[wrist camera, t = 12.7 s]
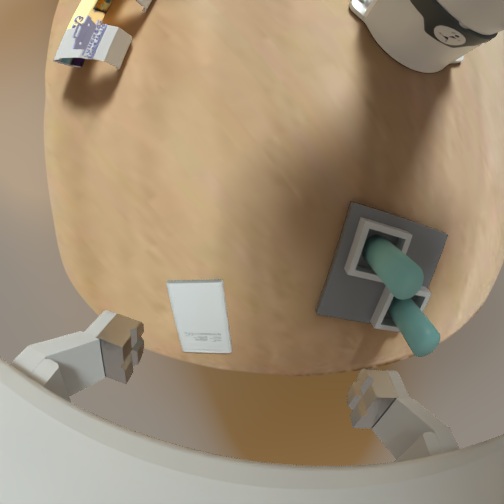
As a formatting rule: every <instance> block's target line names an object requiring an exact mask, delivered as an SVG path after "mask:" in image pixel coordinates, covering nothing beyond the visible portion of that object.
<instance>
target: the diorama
mask: <svg viewBox="0 0 504 504" xmlns="http://www.w3.org/2000/svg"><path fill="white" fill-rule="evenodd" d="M112 1H113V0H82V1H81V3H80V4H79V6H78V8H77V10H76V12H75V14H74V16H73V18H72V20H71V22H70V24H69V26H68V28H67V30H66V32H65V34H64V36H63V39H62V41H61V43H60V46H59V48H58V50H57V53H56V55H55V58H54V62H58V63H61V64H64V65H68V66H72V67H78V68H81V67H82V65H83V62H84V60H85V59H95V60H101V61H105V62H107V63H109V64H111V65H113V66H115V67H116V68H117V70H120V67H121V65H122V62H123V60H124V57H125V55H126V52H127V50H128V48H129V45H130V43H131V41H132V40H131V39H132V36H131V35H129V34H128V33H126V32H125V31H124V30H122V29H121V28H119V27H115V26H111V25H107V24H106V25H105V24H103V25H102V23H103V22H102V20H103V18H104V16H105V15H104V14H106V12H107V10H108V8H109V6H110V4H111V3H112ZM136 1H137V2H138V3H139V4H140V5H141V6H143V7H144V9H143V10H142V11H143V12H144V13H145V12H146V10H147V9H148V7H149V5H150V3H151V1H152V0H136ZM100 24H101V25H100Z"/></svg>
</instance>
